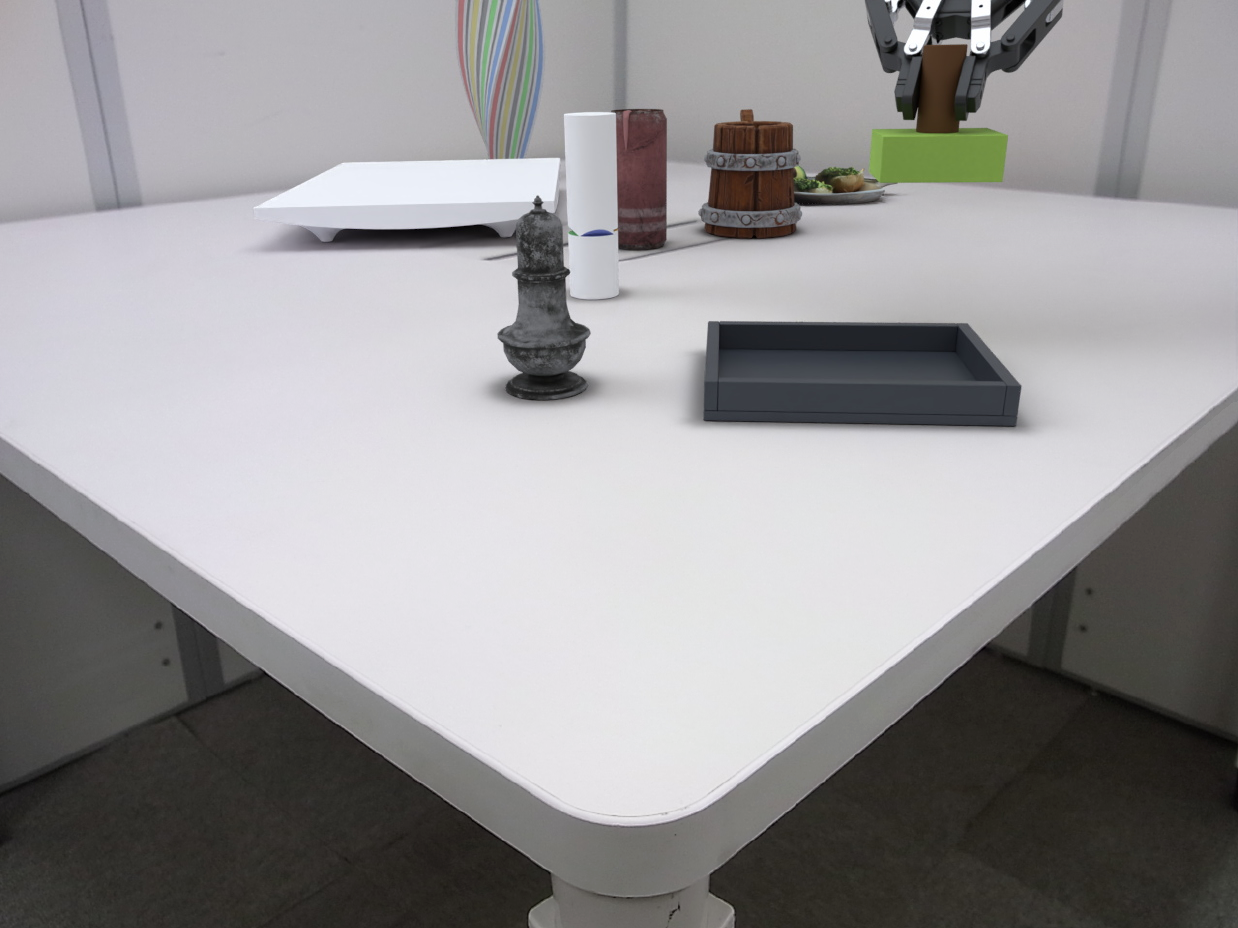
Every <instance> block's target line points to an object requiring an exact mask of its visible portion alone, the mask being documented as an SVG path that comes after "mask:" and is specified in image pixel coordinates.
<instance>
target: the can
mask: <svg viewBox="0 0 1238 928" xmlns="http://www.w3.org/2000/svg"><path fill="white" fill-rule="evenodd" d="M610 112H611V113H616V151H617V209H618V228H617V229H618V249H621V250H629V251H631V250H633V251H639V250H640V251H642V250H646V251H647V250H654V249H659V248H663V246H664V245H665V244H666V241H667V238H668V237H667V233H668V232H667V230H668V229H667V227H668V226H667V225H668V224H667V223H668V218H667V217H668V213H667V212H668V209H667V207H668V202H667V201H668V200H667V199H668V197H667V196H668V195H667V194H668V192H667V191H668V190H667V189H668V183H667V182H668V179H667V178H668V118H667V116H666V114H665V112H664V109H661V108H622V109H621V108H620V109H613V110H611V111H610Z"/></svg>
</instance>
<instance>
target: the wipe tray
mask: <svg viewBox="0 0 1238 928" xmlns="http://www.w3.org/2000/svg"><path fill="white" fill-rule="evenodd" d="M705 348H706V349H705V362H704V363H705V364H704V380H703V421H716V422H717V421H718V422H719V421H722V422H724V421H726V422H770V423H771V422H772V423H773V422H776V423H832V424H833V423H834V424H879V425H880V424H885V425H886V424H888V425H889V424H890V425H938V426H941V425H944V426H945V425H947V426H993V427H994V426H995V427H997V426H998V427H1003V426H1004V427H1016V426H1017V420H1018V414H1019V406H1020V400H1021V393H1022V384H1021V383H1020V382H1019V381H1018V380H1017V379H1016V377H1014V376H1013V374H1012V373H1011V372H1010V371H1009V370H1008V368H1007V367H1006V366H1005V364H1003V362H1001V360H1000V359H999V358H998V357H997V356H996V355H995V353H994V352H993V351H992V350H991V348H989V346H988V345H987V344H986V343H985V341H983V339H982V338H981V337H980V336H979V334H978V333H977V332H976V331H975V330H974V329H973V328H972V326H971V325H970V324H969V323H967V322H878V321H877V322H873V321H872V322H869V321H866V322H865V321H864V322H863V321H859V322H858V321H857V322H855V321H852V322H851V321H763V320H762V321H757V320H756V321H755V320H754V321H753V320H752V321H751V320H750V321H749V320H720V321H718V320H709V321H707V330H706V347H705Z"/></svg>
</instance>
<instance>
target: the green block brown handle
mask: <svg viewBox="0 0 1238 928" xmlns="http://www.w3.org/2000/svg"><path fill="white" fill-rule="evenodd" d="M968 46H969V45H968V44H966V43H964V44H963V43H961V44H960V43H959V44H958V43H956V44H941V45H924V46H923V58H922V69H921V80H920V92H919V103H918V109H917V113H916V125H915V128H872V129H871V136H870V137H871V138H870V151H869V166H868V173H869V174H870V175H871V176H872V177H873V179H877V180H878V181H879V182H880V183H898V184H917V183H920V184H924V183H925V184H927V183H928V184H929V183H930V184H931V183H933V184H935V183H937V184H938V183H940V184H941V183H942V184H943V183H949V184H950V183H1003V180H1004V173H1005V164H1006V157H1007V150H1008V140H1009V135H1008V134H1006V133H1003V132H1000V131H998V130H995V129H991V128H988V127H960V123H961V121H956V120H955V95H956V91H957V87H958V83H959V79H960V75H961V71H962V67H963V62H964V58H965V56H968Z"/></svg>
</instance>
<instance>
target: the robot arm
mask: <svg viewBox="0 0 1238 928" xmlns="http://www.w3.org/2000/svg"><path fill="white" fill-rule="evenodd" d="M1064 1H1065V0H864V4H865V11H866V19H867V25H868V28H869V31H870V33H871V37H872V39H873V43H874V46H875V49H876V52H877V55H878V59H879V62H880V65H881V67H882V70H883V72H884V73H886V74H894V73H896V72H898V76H897V80H896V84H895V87H894V100H895V101H894V102H895V107H896V111H897V113H902V120H903V121H916V118H917V113H918V103H919V92H920V80H921V69H922V58H923V46H924V45H942V43H943V42H944V41H947V40H951V39H956V38H957V39H961V40H967V41H968V40H970V51H969V54H968V55H967V56H965V58H964V62H963V67H962V71H961V75H960V79H959V83H958V87H957V91H956V95H955V120H956V121H960V122H967V121H968V119H969V114H976V113H977V112H978V111H979V109H980V108H981V106H982V100H983V98H984V97H983V96H984V93H985V88H986V83H987V80H988V78H989V76H990V75H991V74H992V73H993V72H996V71H1000V70H1001V71H1002V72H1004V73H1008V74H1010V73H1014V72H1016V71H1018V70H1019V69H1020V67H1022V65H1023V64H1024V63H1025V62H1026V60H1028V58H1029V57H1030V55H1031V54H1032V53H1033V52H1034V51H1035V50H1036V49H1037V47H1038V46H1039V45H1040V44H1041V42H1043V40H1044V39H1045V38H1046V37H1047V35H1048V34H1049V33H1050V32H1051V31H1052V30H1053V29H1054V27H1055V26H1056V25H1057V24H1058V22H1059V21H1061V19H1062V18H1063V12H1064ZM1022 6H1024V7H1023V9H1024V10H1023V11H1022V12H1021V13H1020V14H1019V15H1018V16H1017V18H1016V19H1015V20H1014V22H1012V24H1011V25H1010V26H1009V27H1008V28H1007V30H1006V31H1005V32H1004V33H1003V34H1002V35H1001V37H1000V39H998V40H995V41H992V32H993V30H995V29H996V27H998V26H999V25H1000V24H1001V23H1003V22H1004V21H1005V20H1006V19H1008V18H1009V17H1010V16H1011V15H1013V13H1015V12H1016V11H1017V10H1018V9H1020V8H1021V7H1022ZM904 8H905V9H906V11H907V12H908V14H909V15H910V16H911V18H912V19H913V27H912V29H911V32H910V34H909V36H908V38H907V40H906V42H905V41H904V42H903V41H900V40H899V39H898V36H897V32H896V30H895V23H896V22H897V21H898V19H899V13H900V11H901V10H902V9H904Z"/></svg>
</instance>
